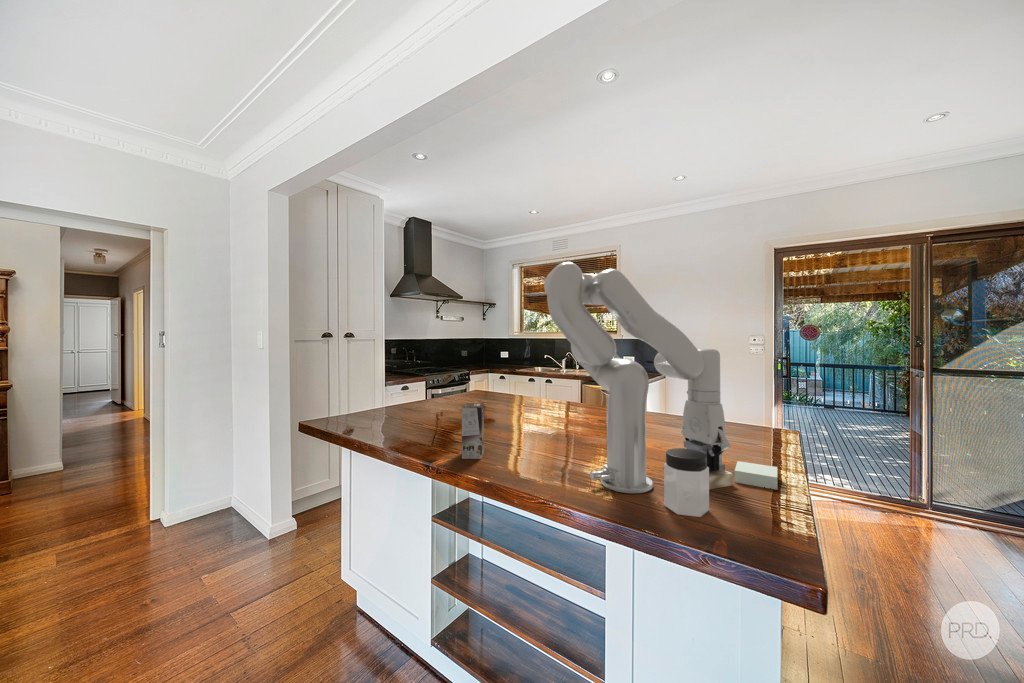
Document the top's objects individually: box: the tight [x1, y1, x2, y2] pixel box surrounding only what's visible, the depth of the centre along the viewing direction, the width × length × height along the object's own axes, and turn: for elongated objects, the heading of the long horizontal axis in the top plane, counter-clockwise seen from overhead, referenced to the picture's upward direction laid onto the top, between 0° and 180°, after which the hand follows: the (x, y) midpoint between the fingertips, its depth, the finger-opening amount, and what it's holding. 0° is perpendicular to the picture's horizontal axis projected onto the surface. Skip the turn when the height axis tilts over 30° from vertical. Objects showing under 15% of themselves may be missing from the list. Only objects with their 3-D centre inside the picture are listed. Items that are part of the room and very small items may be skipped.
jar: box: [663, 447, 710, 518], centre depth 83 cm, size 9×8×12 cm
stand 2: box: [734, 460, 778, 490], centre depth 99 cm, size 9×9×3 cm
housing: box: [683, 440, 726, 473], centre depth 99 cm, size 8×5×7 cm, turn 108°
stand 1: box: [709, 470, 734, 490], centre depth 99 cm, size 9×9×3 cm
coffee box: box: [461, 402, 485, 460], centre depth 124 cm, size 9×6×16 cm
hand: (704, 466), depth 99 cm, fingers closed on housing, 5 cm apart
